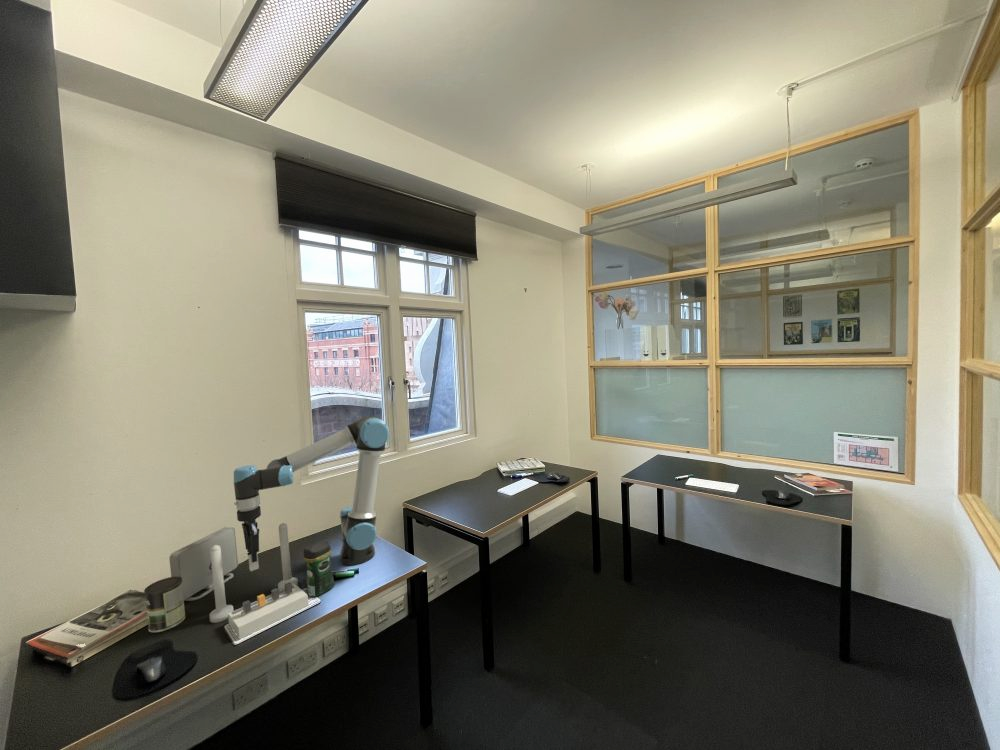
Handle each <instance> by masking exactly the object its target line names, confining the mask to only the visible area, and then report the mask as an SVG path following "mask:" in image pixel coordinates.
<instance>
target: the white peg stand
mask: <svg viewBox="0 0 1000 750" xmlns="http://www.w3.org/2000/svg"><path fill="white" fill-rule="evenodd" d="M210 553H211V563H212V573H213V583H214V590H213V593H214V602H215V609H213V610H212V611H211V612H209V622H210V623H213V624H216V623H221V622H224V621H227V620H229V618H228V613H230V612H233V611H235V610H234V606H233V605H232V604H227V600H226V590H225V583H224V580H225V578H224V576H223V567H222V557H221V548H220V546H219V545H214V546H213V547H212V548H211V549H210Z"/></svg>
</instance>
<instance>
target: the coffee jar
mask: <svg viewBox="0 0 1000 750" xmlns="http://www.w3.org/2000/svg"><path fill="white" fill-rule="evenodd" d="M331 553H332V548H331V544H330V542H329V541H328V540H324V539H321V540H320V541H318V542H316V543H313V544H311V545H309V546H307V547H304V548H303V560H304V562H305V565H306V594H307V595H309V596H310V597H319V596H322V595H324V594H325V593H326V592H327V593H328V592H329V591H330V590H331V589H333V588H334V587H335V579H334V578H335V577H334V574H333V569H332V564H331Z"/></svg>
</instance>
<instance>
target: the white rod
mask: <svg viewBox="0 0 1000 750" xmlns="http://www.w3.org/2000/svg"><path fill="white" fill-rule="evenodd" d="M288 531H289V530H288V524H287V523H285V522H282V523H280V524H279V525H278V536H279V545H280V546H279V547H280V558H281V559H280V561H281V570H282V571H281V572H282V579H283V580H281V581H280V582H278V584H277V589H278V590H279V591H280V590H283V589H285V584H287V583H289V582H290V583H291V584H292V585H294V584H295V585H296V586H298V587H299V580H298V578H297V577H293V576H292V567H291V554H290V543H289V532H288Z"/></svg>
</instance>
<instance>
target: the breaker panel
mask: <svg viewBox="0 0 1000 750" xmlns="http://www.w3.org/2000/svg"><path fill="white" fill-rule="evenodd" d="M292 589H294V592H292V593H289V594H287V595H285V596H283V597H281V598H278V599H276V600H274V601H272V602H270V603H267V604H265V605H263V606H261V607H258V608H256V609H254V610H252V611H250V612H247V613H245V614H243V615H241V612H242V611H243V606H242V607H240V608H238V609H235V610H234V611H233V612H230V613H228V625H229V627H230V628H231V630H232V631H233V630H234V631H233V632H234V634H235V633H236V634H237V635H236V634H235V635H236V636H237V638H238V639H239V640H241V638H242V639H243V637H244V638H245V636H246V637H248V636H250V635H251V633H252V634H254V633H256V632H258V631H259V630H262V629H264V628H266V627H267V626H270V625H272V624H274V623H276V622H279V621H280V620H282V619H285V618H286V617H288V616H290V615H293V614H294V613H296V612H299V611H301V610H303V609H304V608H307V607H309V596H308V595H309V594H308V593H307V592H305V591H304V590H302V589H301V588H300V587H299V585H298V586H296V585H295V584H294V585H292ZM283 593H285V589H283V590H280V591H279V595H280V594H283ZM271 598H272V594H269V595H267V596H265V601H267V600H269V599H271ZM250 604H251V607H253V606H256V605H258V600H255V601H252V602H250ZM255 631H256V632H255ZM253 632H254V633H253ZM249 634H250V635H249ZM247 635H248V636H247Z"/></svg>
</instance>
